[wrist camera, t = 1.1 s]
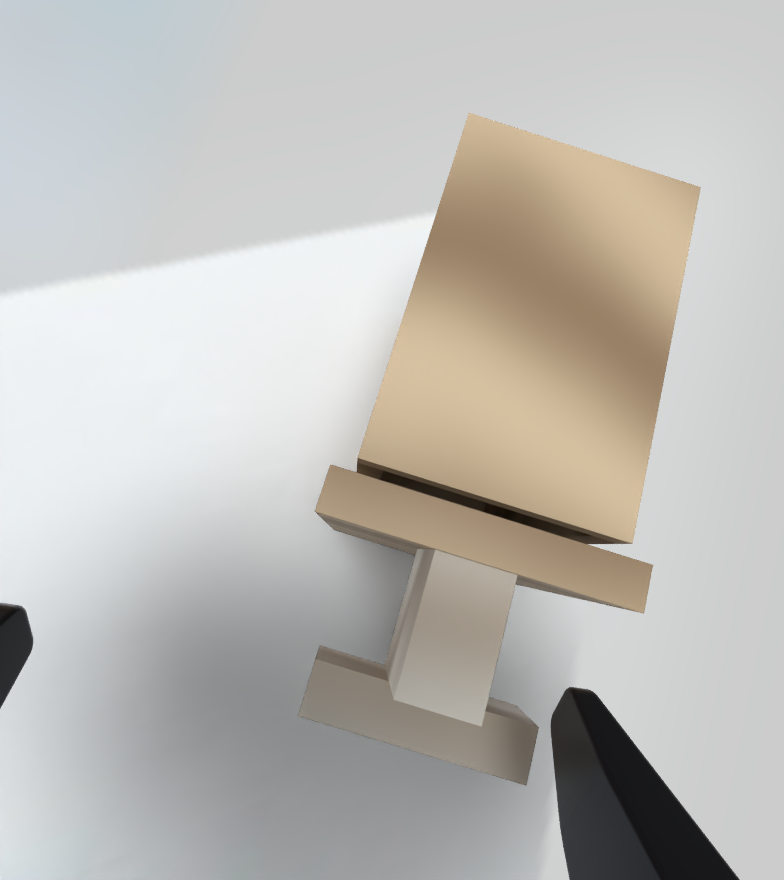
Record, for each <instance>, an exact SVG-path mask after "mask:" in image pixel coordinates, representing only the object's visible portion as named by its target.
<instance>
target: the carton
mask: <svg viewBox="0 0 784 880" xmlns="http://www.w3.org/2000/svg"><path fill="white" fill-rule="evenodd" d="M699 193H700V187H698V186H695V185H692V184H689V183H686V182H682V181H679V180H676V179H673V178H670V177H667V176H664V175H661V174H657V173H655V172H651V171H648V170H645V169H642V168H639V167H636V166H632V165H630V164H626V163H623V162H620V161H617V160H614V159H611V158H608V157H604V156H602V155H598V154H595V153H592V152H589V151H586V150H582V149H579V148H577V147H574V146H570V145H567V144H564V143H561V142H558V141H555V140H551V139H549V138H545V137H542V136H539V135H536V134H533V133H530V132H527V131H524V130H521V129H518V128H515V127H511V126H508V125H505V124H502V123H499V122H496V121H493V120H489V119H487V118H483V117H480V116H477V115H474V114H471V113H469V114H468V117H467V120H466V124H465V127H464V130H463V133H462V136H461V139H460V142H459V145H458V149H457V151H456V155H455V158H454V161H453V164H452V167H451V171H450V173H449V177H448V179H447V183H446V186H445V189H444V192H443V195H442V198H441V201H440V204H439V207H438V210H437V213H436V217H435V220H434V223H433V226H432V229H431V232H430V235H429V238H428V241H427V244H426V248H425V251H424V254H423V257H422V260H421V263H420V266H419V269H418V272H417V275H416V279H415V282H414V285H413V288H412V291H411V294H410V297H409V300H408V303H407V306H406V310H405V313H404V316H403V319H402V322H401V325H400V328H399V331H398V334H397V337H396V341H395V344H394V347H393V350H392V353H391V356H390V359H389V362H388V365H387V368H386V372H385V375H384V378H383V381H382V384H381V387H380V390H379V393H378V396H377V399H376V403H375V406H374V409H373V412H372V415H371V418H370V421H369V424H368V427H367V430H366V434H365V437H364V440H363V443H362V446H361V449H360V452H359V455H358V460H357V473H359V474H363V475H366V476H369V477H372V478H375V479H379V480H382V481H385V482H388V483H391V484H395V485H398V486H401V487H404V488H407V489H411V490H414V491H417V492H420V493H423V494H427V495H430V496H433V497H436V498H440V499H443V500H446V501H449V502H452V503H456V504H459V505H462V506H465V507H468V508H472V509H475V510H478V511H481V512H484V513H488V514H491V515H494V516H497V517H501V518H504V519H507V520H510V521H513V522H517V523H520V524H523V525H526V526H529V527H533V528H536V529H539V530H542V531H545V532H549V533H552V534H555V535H558V536H561V537H565V538H568V539H571V540H574V541H578V542H581V543H584V544H632V542H633V538H634V532H635V527H636V522H637V517H638V511H639V506H640V501H641V496H642V491H643V486H644V480H645V475H646V470H647V465H648V459H649V454H650V449H651V443H652V438H653V433H654V428H655V423H656V417H657V412H658V407H659V401H660V397H661V392H662V386H663V381H664V375H665V371H666V365H667V360H668V355H669V350H670V345H671V339H672V334H673V329H674V324H675V319H676V313H677V308H678V302H679V298H680V292H681V287H682V282H683V276H684V272H685V266H686V261H687V256H688V251H689V245H690V240H691V235H692V230H693V224H694V219H695V214H696V209H697V204H698V198H699Z"/></svg>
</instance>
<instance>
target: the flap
mask: <svg viewBox="0 0 784 880" xmlns="http://www.w3.org/2000/svg"><path fill="white" fill-rule="evenodd" d="M315 512H316V513H317V514H318V515H319V516H320V517H321V518H322V519H323V520H324V521H325V522H326V523H327V524H328V525H329V526H330V527H332V528H333V529H334V530H336V531H339V532H343V533H346V534H349V535H352V536H355V537H359V538H362V539H365V540H368V541H372V542H375V543H378V544H381V545H384V546H388V547H391V548H394V549H397V550H401V551H404V552H407V553H410V554H413V555H415V559H414V562H413V566H412V569H411V573H410V577H409V580H408V584H407V587H406V591H405V594H404V598H403V601H402V605H401V608H400V612H399V615H398V619H397V622H396V626H395V629H394V633H393V636H392V640H391V643H390V647H389V650H388V654H387V657H386V661H385V665H382V664H379V663H375V662H372V661H369V660H366V659H362V658H359V657H356V656H353V655H349V654H346V653H343V652H339V651H336V650H333V649H330V648H326V647H323V646H320V647H319V650H318V653H317V656H316V659H315V662H314V665H313V668H312V672H311V675H310V678H309V681H308V684H307V688H306V691H305V694H304V697H303V700H302V704H301V707H300V710H299V713H298V716H300V717H303V718H306V719H310V720H313V721H316V722H319V723H323V724H326V725H329V726H333V727H336V728H339V729H342V730H346V731H349V732H352V733H356V734H359V735H362V736H365V737H369V738H372V739H375V740H378V741H382V742H385V743H388V744H392V745H395V746H398V747H401V748H405V749H408V750H411V751H415V752H418V753H421V754H424V755H428V756H431V757H434V758H438V759H441V760H444V761H447V762H451V763H454V764H457V765H460V766H464V767H467V768H470V769H474V770H477V771H480V772H483V773H487V774H490V775H493V776H497V777H500V778H503V779H506V780H510V781H513V782H516V783H519V784H523V785H526V784H527V780H528V775H529V771H530V766H531V761H532V757H533V752H534V747H535V743H536V738H537V733H538V729H539V727H538V726H537V725H536V724H535V723H534V722H533V721H532V720H531V719H529V718H528V717H527V716H526V715H525V714H524V713H523V712H522V711H521V710H520V709H519V708H518V707H517V706H515V705H512V704H509V703H506V702H502V701H499V700H496V699H493V698H489V693H490V689H491V685H492V681H493V677H494V672H495V668H496V664H497V660H498V656H499V651H500V647H501V643H502V639H503V635H504V630H505V626H506V622H507V618H508V614H509V609H510V605H511V601H512V597H513V593H514V588H515V584H517V585H521V586H525V587H530V588H534V589H539V590H543V591H547V592H552V593H556V594H561V595H565V596H569V597H574V598H578V599H583V600H587V601H591V602H596V603H600V604H605V605H609V606H614V607H618V608H622V609H627V610H631V611H636V612H640V613H644V610H645V605H646V600H647V594H648V589H649V583H650V578H651V572H652V567H653V565H651V564H648V563H645V562H642V561H639V560H635V559H632V558H629V557H626V556H622V555H619V554H616V553H613V552H610V551H606V550H603V549H600V548H597V547H594V546H590V545H587V544H584V543H581V542H578V541H574V540H571V539H568V538H565V537H561V536H558V535H555V534H552V533H549V532H545V531H542V530H539V529H536V528H533V527H529V526H526V525H523V524H520V523H517V522H513V521H510V520H507V519H504V518H501V517H497V516H494V515H491V514H488V513H484V512H481V511H478V510H475V509H472V508H468V507H465V506H462V505H459V504H456V503H452V502H449V501H446V500H443V499H440V498H436V497H433V496H430V495H427V494H423V493H420V492H417V491H414V490H411V489H407V488H404V487H401V486H398V485H395V484H391V483H388V482H385V481H382V480H379V479H375V478H372V477H369V476H366V475H363V474H359V473H356V472H353V471H350V470H346V469H343V468H340V467H337V466H334V465H330V467H329V470H328V473H327V476H326V479H325V482H324V485H323V488H322V491H321V494H320V497H319V500H318V503H317V506H316V509H315Z"/></svg>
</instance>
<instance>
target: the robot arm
mask: <svg viewBox="0 0 784 880" xmlns="http://www.w3.org/2000/svg"><path fill="white" fill-rule="evenodd" d="M32 646H33V636H32V632H31V628H30V624H29V621H28V617H27V613H26V610H25V609H24V608H23V607H22V606H19V605H13V604H6V603H0V708H1V706H2V705H3V703H4V701H5V699H6V697H7V695H8V694H9V692H10V690H11V688H12V686H13V684H14V683H15V681H16V679H17V677H18V675H19V673H20V672H21V670H22V668H23V666H24V664H25V662H26V661H27V659H28V657H29V655H30V653H31V650H32ZM551 738H552V748H553V759H554V769H555V780H556V791H557V801H558V812H559V821H560V829H561V835H562V841H563V847H564V852H565V858H566V863H567V868H568V873H569V879H570V880H739V878H738V877H737V876H736V874H735V873H734V872H733V871H732V869H731V868H730V867H729V865H728V864H727V863H726V861H725V860H724V859H723V858H722V856H721V855H720V854H719V853H718V851H717V850H716V849H715V847H714V846H713V845H712V843H711V842H710V841H709V839H708V838H707V837H706V836H705V834H704V833H703V832H702V830H701V829H700V828H699V827H698V825H697V824H696V823H695V821H694V820H693V819H692V818H691V816H690V815H689V814H688V812H687V811H686V810H685V809H684V807H683V806H682V805H681V803H680V802H679V801H678V799H677V798H676V797H675V796H674V794H673V793H672V792H671V790H670V789H669V788H668V786H667V785H666V784H665V783H664V781H663V780H662V779H661V777H660V776H659V775H658V774H657V772H656V771H655V770H654V768H653V767H652V766H651V765H650V763H649V762H648V761H647V759H646V758H645V757H644V755H643V754H642V753H641V752H640V750H639V749H638V748H637V746H636V745H635V744H634V743H633V741H632V740H631V739H630V737H629V736H628V735H627V733H626V732H625V731H624V730H623V728H622V727H621V726H620V724H619V723H618V722H617V721H616V719H615V718H614V717H613V715H612V714H611V713H610V711H609V710H608V709H607V708H606V706H605V705H604V704H603V703H602V701H601V700H600V699H599V697H598V696H597V695H596V694H595V693H594V692H593V691H591V690H588V689H582V688H575V687H569V688H568V689H566V690H565V692H564V694H563V696H562V698H561V699H560V701H559V703H558V705H557V707H556V709H555V711H554V713H553V715H552V719H551Z"/></svg>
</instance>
